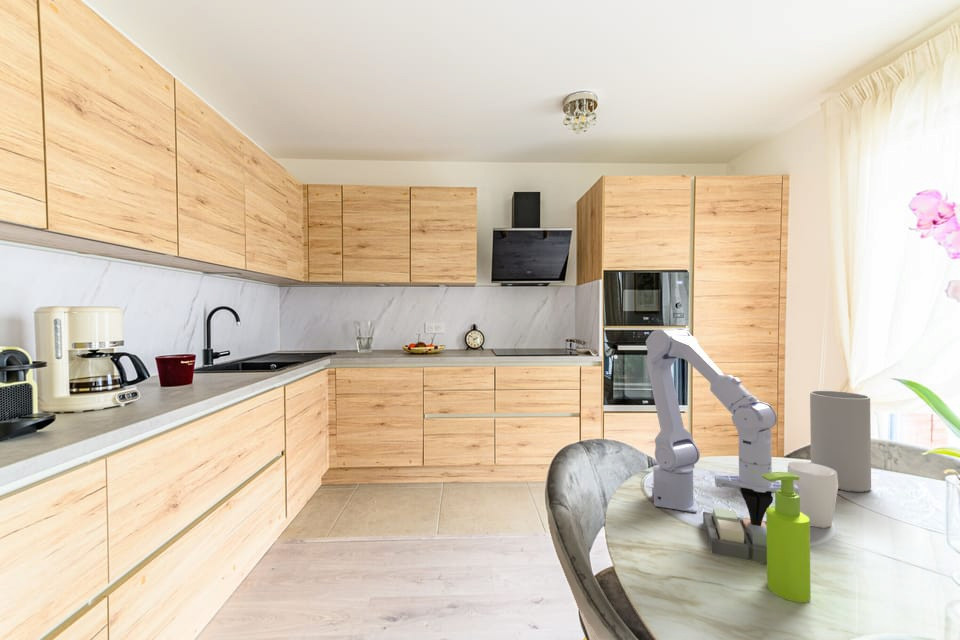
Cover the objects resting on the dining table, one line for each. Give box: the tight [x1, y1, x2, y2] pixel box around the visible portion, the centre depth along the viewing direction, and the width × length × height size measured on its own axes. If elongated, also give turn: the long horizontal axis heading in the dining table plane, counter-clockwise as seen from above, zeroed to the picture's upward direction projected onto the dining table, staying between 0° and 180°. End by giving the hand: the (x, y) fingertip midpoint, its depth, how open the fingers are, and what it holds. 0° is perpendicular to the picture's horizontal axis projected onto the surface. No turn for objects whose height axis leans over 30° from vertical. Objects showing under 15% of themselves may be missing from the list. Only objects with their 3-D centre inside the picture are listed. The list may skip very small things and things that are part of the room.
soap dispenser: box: [762, 471, 812, 603], centre depth 68 cm, size 6×7×20 cm
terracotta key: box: [741, 517, 767, 531], centre depth 84 cm, size 4×4×2 cm
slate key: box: [748, 524, 767, 547], centre depth 79 cm, size 4×4×2 cm
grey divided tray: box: [702, 511, 767, 565], centre depth 82 cm, size 13×13×2 cm
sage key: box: [712, 507, 738, 526], centre depth 86 cm, size 4×4×2 cm
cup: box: [787, 461, 838, 528], centre depth 91 cm, size 9×9×12 cm
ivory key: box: [717, 519, 744, 543], centre depth 81 cm, size 4×4×2 cm
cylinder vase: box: [809, 390, 872, 493], centre depth 111 cm, size 12×12×25 cm
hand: (755, 525), depth 84 cm, fingers closed, pressing on terracotta key
